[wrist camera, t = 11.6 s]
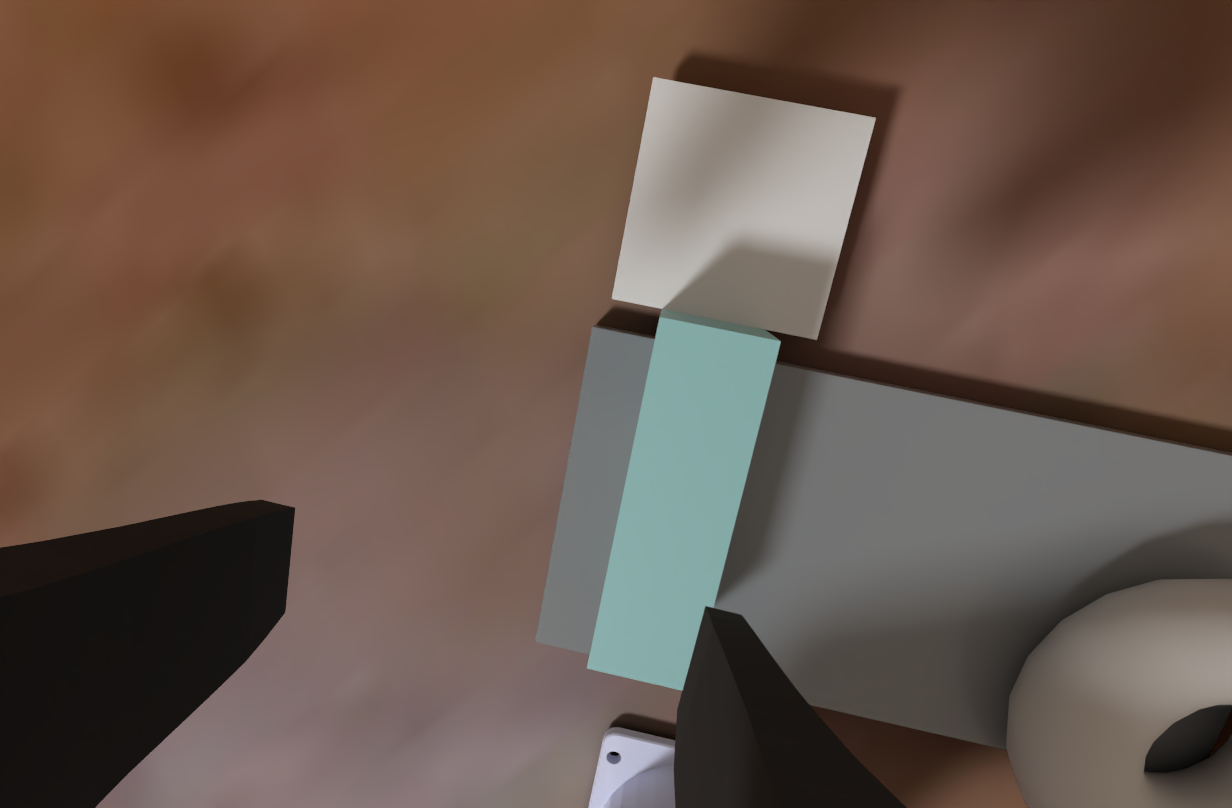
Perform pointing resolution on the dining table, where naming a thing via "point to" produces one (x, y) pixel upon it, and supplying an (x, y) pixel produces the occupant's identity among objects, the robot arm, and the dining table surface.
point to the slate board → (908, 538)
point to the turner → (713, 338)
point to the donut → (1124, 699)
